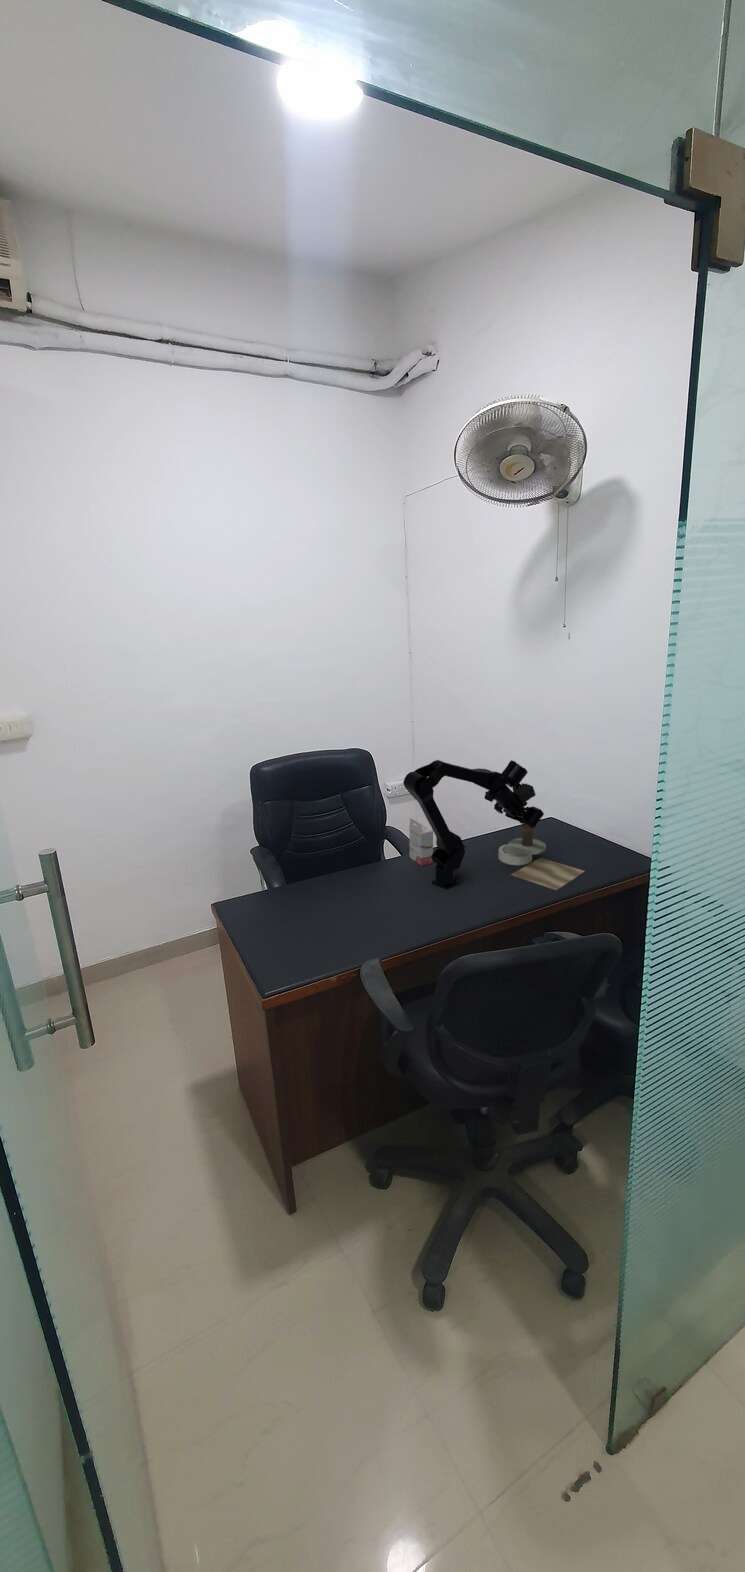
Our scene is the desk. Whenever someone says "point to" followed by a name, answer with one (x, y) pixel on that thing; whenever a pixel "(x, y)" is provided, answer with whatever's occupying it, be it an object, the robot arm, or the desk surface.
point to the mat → (548, 873)
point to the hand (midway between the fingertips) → (531, 824)
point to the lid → (527, 843)
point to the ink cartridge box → (420, 843)
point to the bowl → (513, 856)
